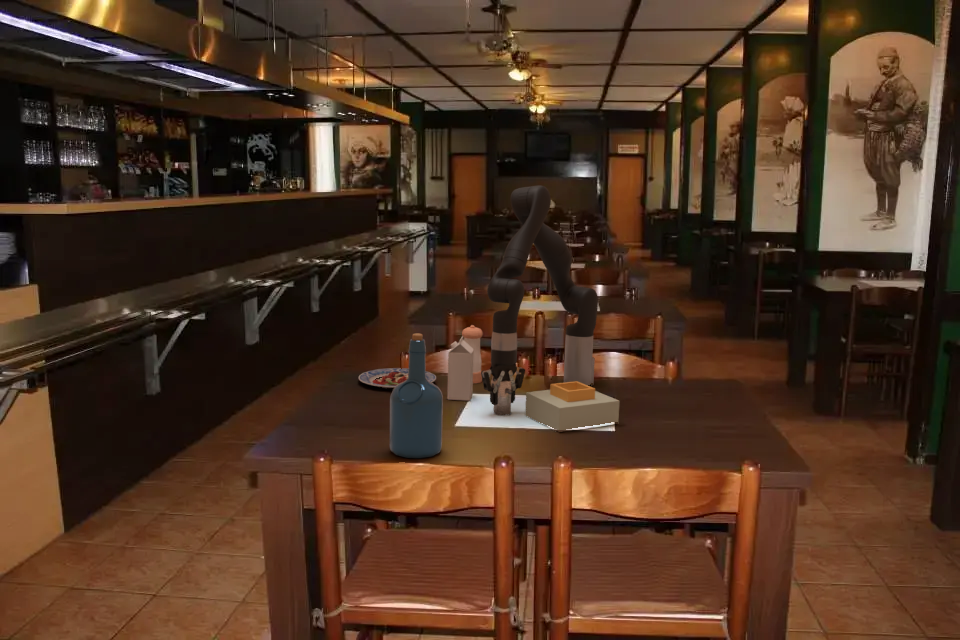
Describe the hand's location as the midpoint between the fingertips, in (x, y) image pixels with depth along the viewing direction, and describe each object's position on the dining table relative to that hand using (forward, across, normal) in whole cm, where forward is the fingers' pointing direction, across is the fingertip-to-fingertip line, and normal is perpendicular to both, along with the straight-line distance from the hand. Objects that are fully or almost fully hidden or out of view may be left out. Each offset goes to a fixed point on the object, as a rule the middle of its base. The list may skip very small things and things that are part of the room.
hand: (502, 403), depth 245 cm
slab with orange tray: (+3, -15, +14) cm, 21 cm away
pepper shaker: (+3, -9, -38) cm, 39 cm away
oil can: (+3, 0, +1) cm, 3 cm away
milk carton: (+3, +4, -20) cm, 21 cm away
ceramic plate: (+3, +15, -45) cm, 48 cm away
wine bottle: (+3, +37, +22) cm, 43 cm away
